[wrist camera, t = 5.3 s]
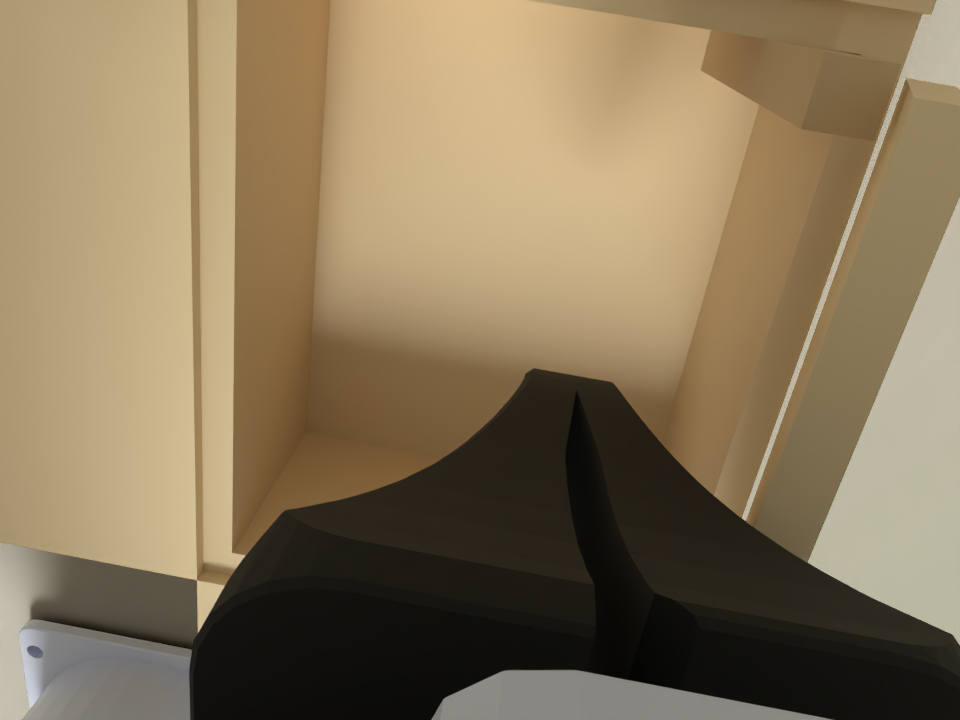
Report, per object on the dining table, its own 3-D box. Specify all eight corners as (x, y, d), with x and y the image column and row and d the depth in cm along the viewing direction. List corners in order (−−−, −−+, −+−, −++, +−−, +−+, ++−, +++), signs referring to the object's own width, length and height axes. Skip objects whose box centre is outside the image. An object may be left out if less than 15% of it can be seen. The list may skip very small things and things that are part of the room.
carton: (620, 650, 22) (642, 960, 15) (115, 553, 23) (-94, 807, 16) (913, -319, 13) (1337, -713, 6) (43, -444, 14) (-563, -945, 6)
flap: (702, 641, 15) (733, 655, 15) (628, 867, 11) (670, 892, 11) (905, 78, 11) (955, 86, 10) (914, 97, 6) (994, 111, 6)
